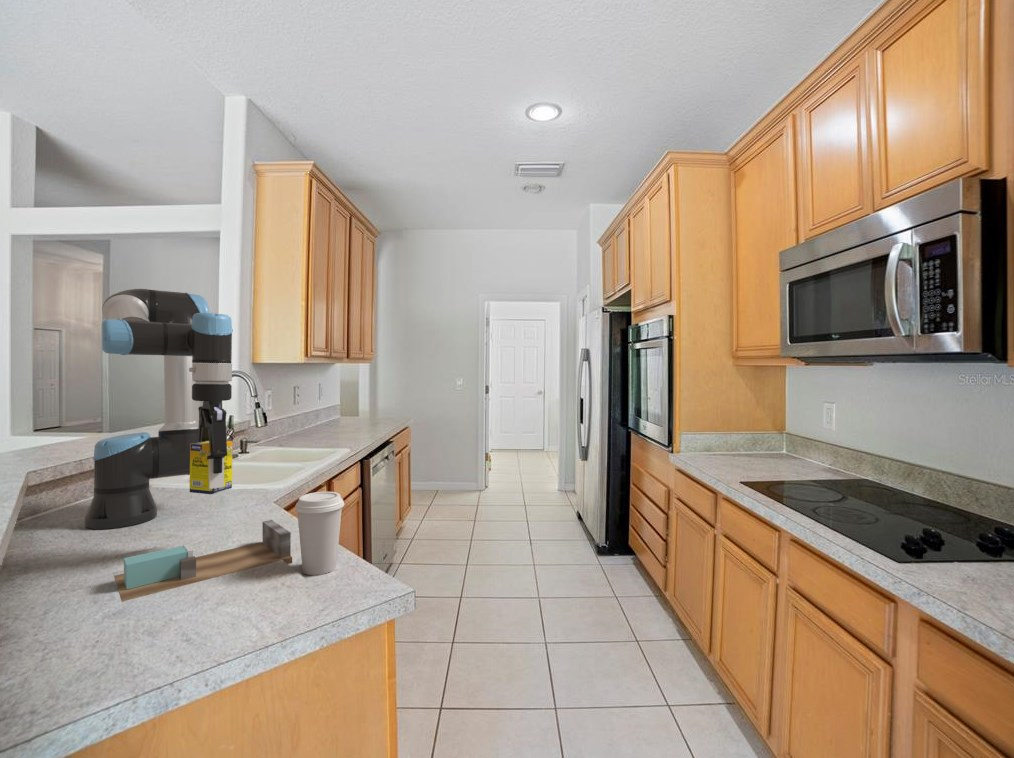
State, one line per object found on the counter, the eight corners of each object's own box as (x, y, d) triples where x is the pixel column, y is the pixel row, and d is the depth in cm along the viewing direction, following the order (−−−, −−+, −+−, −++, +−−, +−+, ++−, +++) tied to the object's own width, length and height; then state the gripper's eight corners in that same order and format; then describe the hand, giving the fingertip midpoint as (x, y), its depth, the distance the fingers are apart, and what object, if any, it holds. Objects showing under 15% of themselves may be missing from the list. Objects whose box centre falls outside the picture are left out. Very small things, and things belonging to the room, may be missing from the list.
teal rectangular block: (123, 581, 86) (123, 557, 86) (187, 566, 93) (187, 544, 93) (126, 590, 83) (126, 564, 83) (192, 573, 90) (192, 550, 90)
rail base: (114, 581, 89) (114, 549, 89) (270, 545, 109) (270, 518, 109) (122, 608, 79) (122, 572, 79) (292, 562, 99) (292, 533, 99)
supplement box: (211, 495, 100) (212, 445, 100) (188, 492, 102) (188, 443, 101) (233, 488, 106) (233, 440, 106) (211, 486, 108) (211, 439, 107)
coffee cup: (295, 582, 89) (296, 504, 89) (293, 564, 98) (293, 493, 98) (347, 572, 94) (347, 499, 94) (340, 556, 102) (341, 488, 102)
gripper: (182, 381, 108) (182, 477, 109) (203, 384, 93) (202, 496, 94) (219, 381, 114) (218, 473, 114) (244, 384, 99) (243, 490, 99)
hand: (211, 483), depth 104 cm, fingers closed on supplement box, 8 cm apart
